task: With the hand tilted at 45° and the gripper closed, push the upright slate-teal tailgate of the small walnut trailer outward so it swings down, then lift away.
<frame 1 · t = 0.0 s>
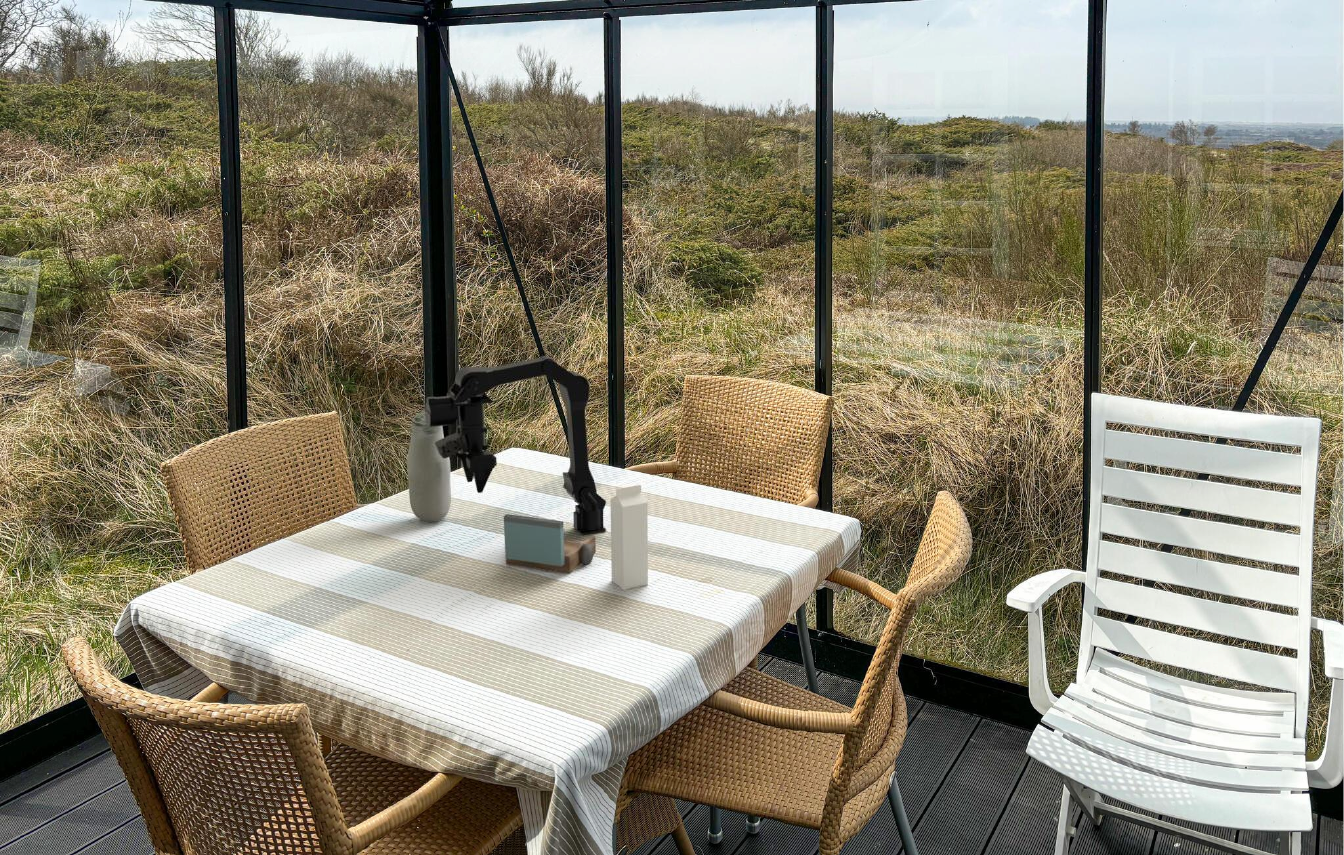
hand: (474, 487, 270), 15 cm above the table, tool pointing down, fingers open, 9 cm apart
grey bottle: (431, 521, 292), on the table
tailgate: (534, 540, 257), point 7 cm above the table, hinge at 0.0°
milk: (629, 583, 252), on the table
trailer: (551, 558, 266), on the table
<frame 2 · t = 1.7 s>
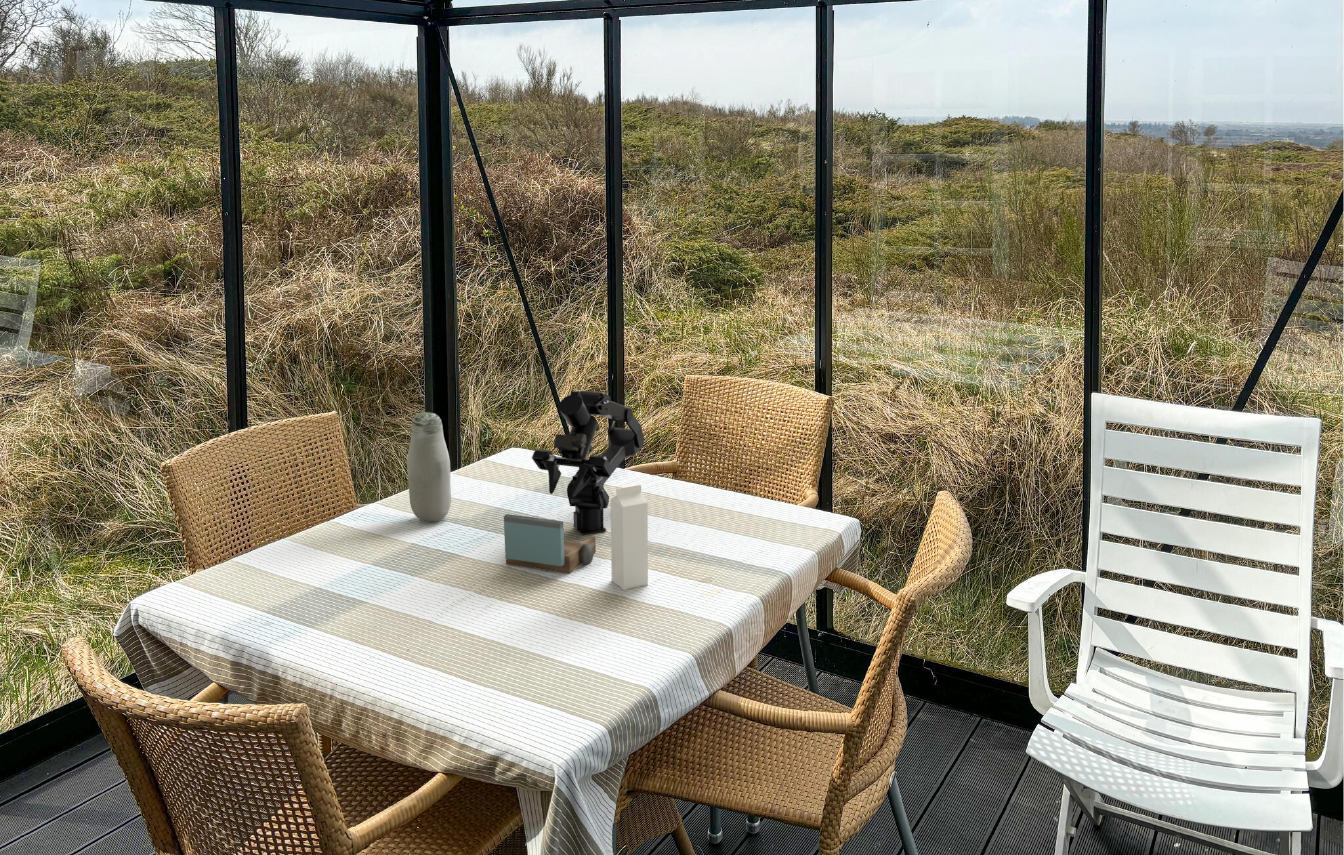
hand: (561, 494, 268), 14 cm above the table, tool tilted 45°, fingers open, 5 cm apart
nothing on the table moved.
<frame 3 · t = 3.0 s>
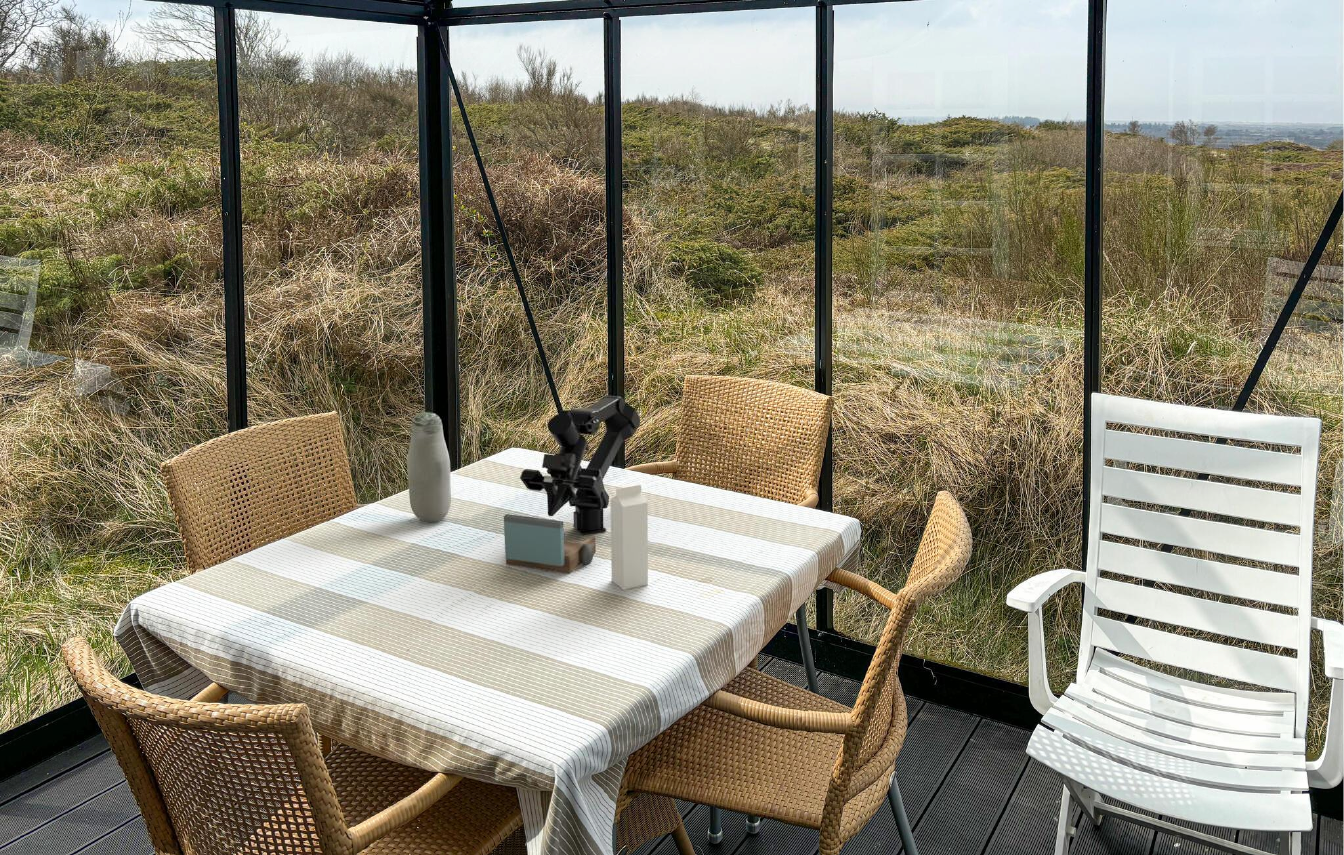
hand: (549, 515, 263), 10 cm above the table, tool tilted 45°, fingers closed
nothing on the table moved.
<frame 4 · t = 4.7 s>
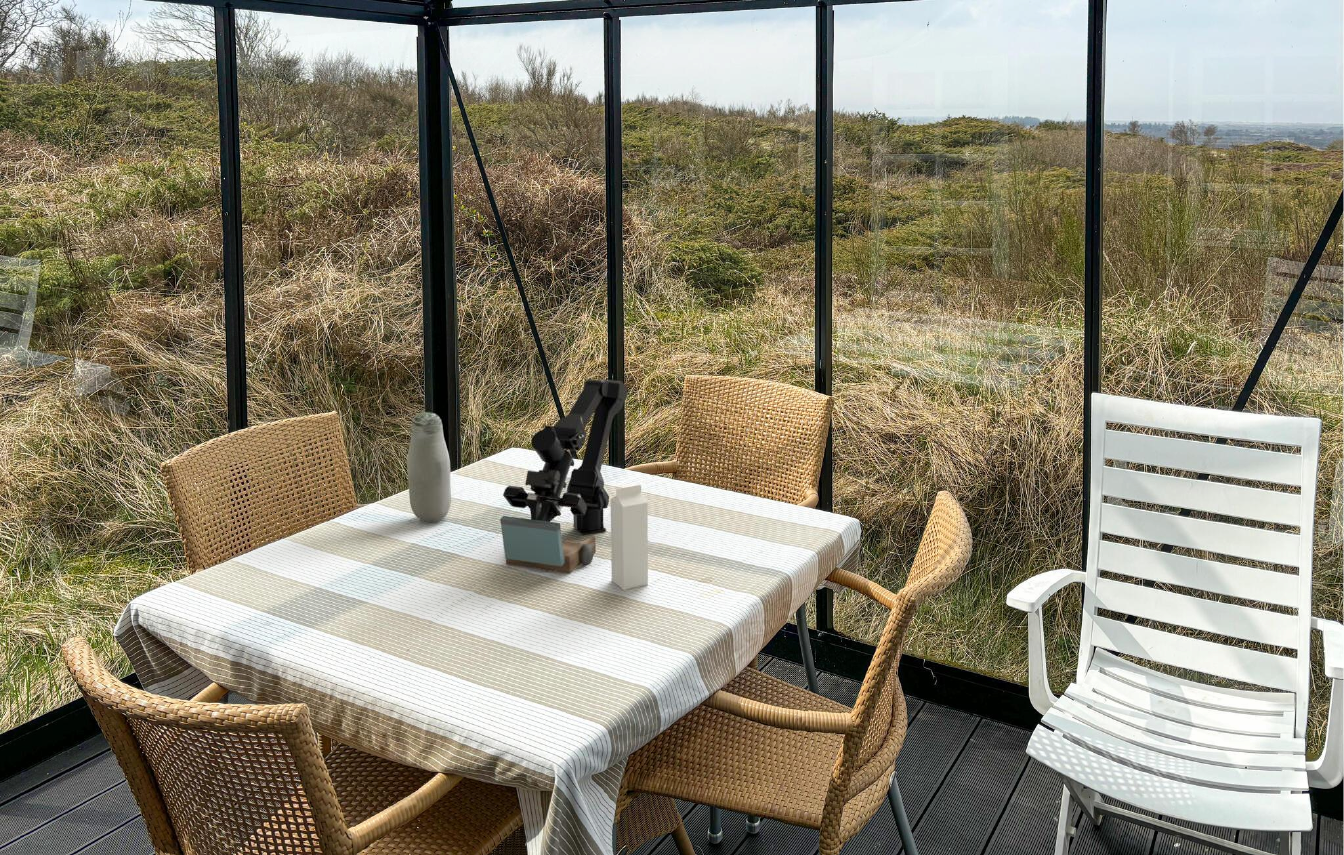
hand: (533, 534, 256), 9 cm above the table, tool tilted 45°, fingers closed, pressing on tailgate
tailgate: (532, 541, 256), point 7 cm above the table, hinge at 9.1°, touching gripper
everything else where it was.
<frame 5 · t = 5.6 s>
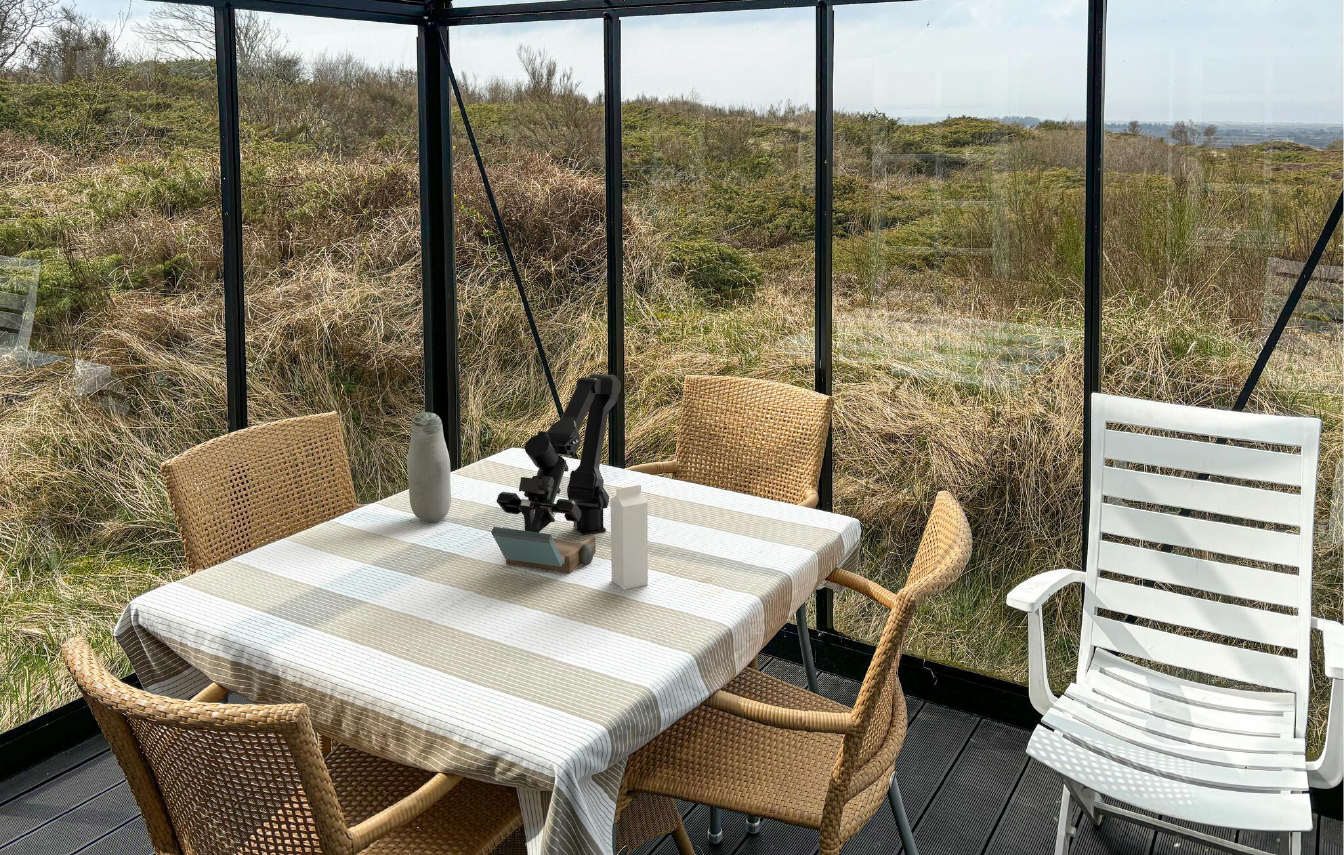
hand: (527, 540, 253), 8 cm above the table, tool tilted 45°, fingers closed, pressing on tailgate
tailgate: (527, 546, 254), point 7 cm above the table, hinge at 34.6°, touching gripper
everything else where it was.
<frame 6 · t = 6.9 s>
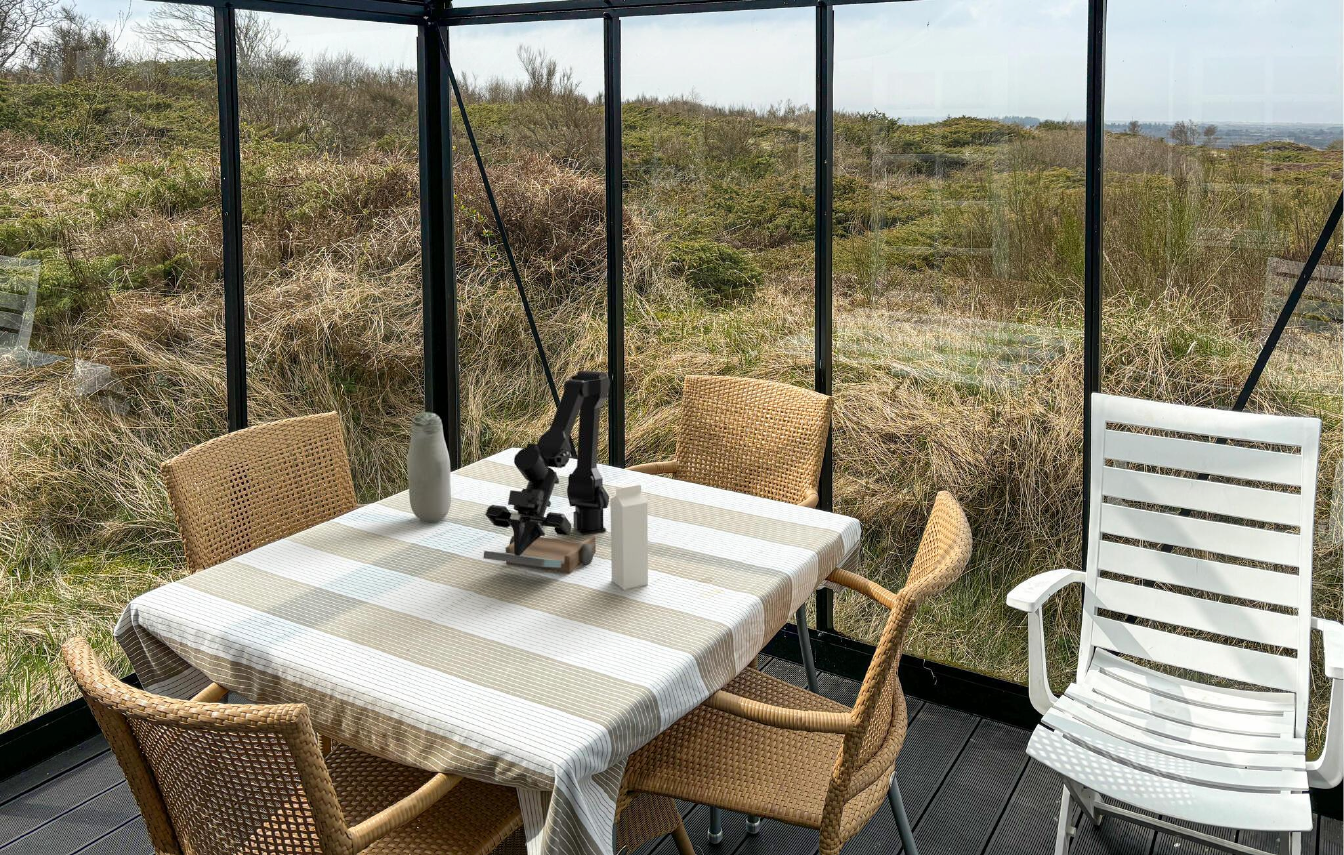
hand: (516, 555, 249), 7 cm above the table, tool tilted 45°, fingers closed, pressing on tailgate
tailgate: (522, 559, 252), point 5 cm above the table, hinge at 68.4°, touching gripper
everything else where it was.
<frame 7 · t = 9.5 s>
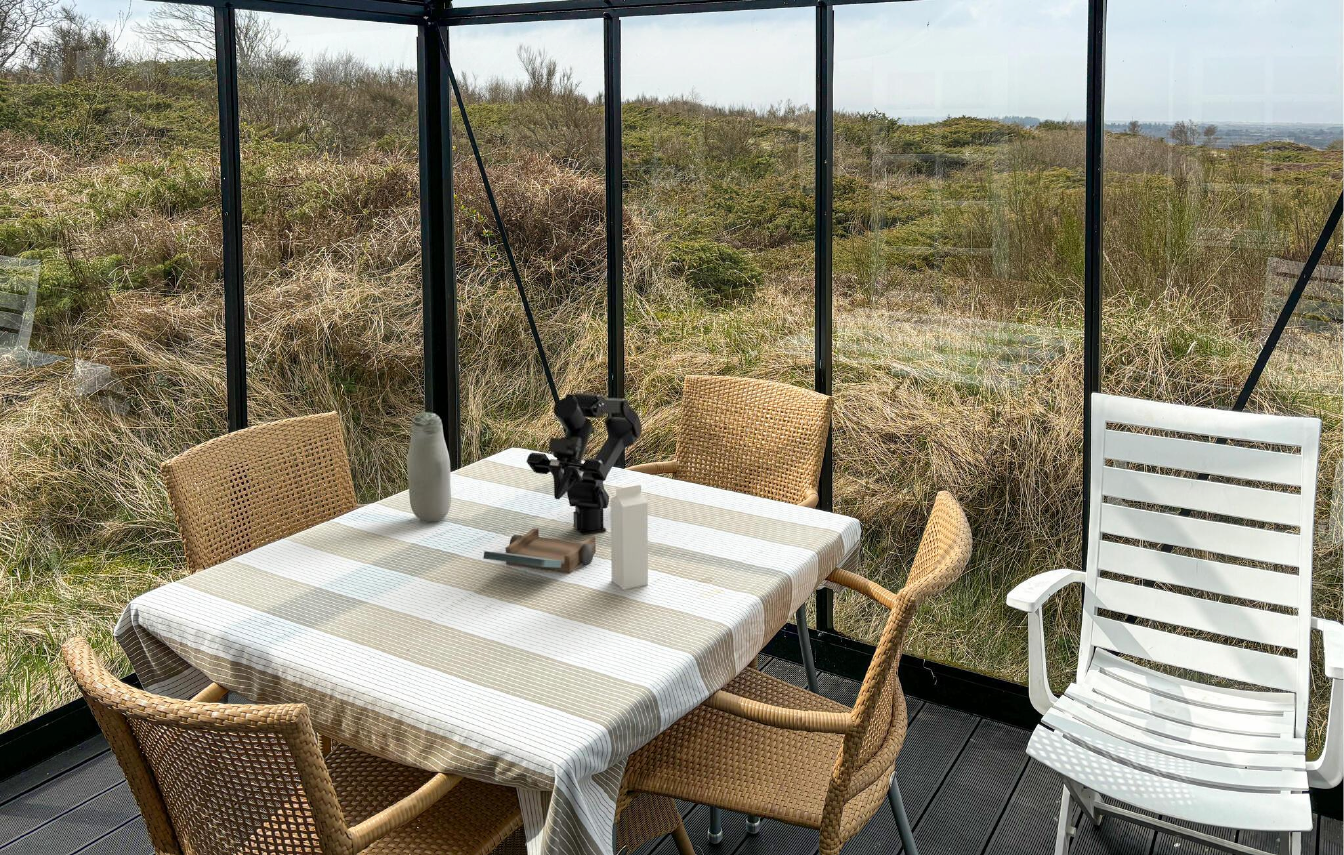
hand: (556, 498, 265), 13 cm above the table, tool tilted 45°, fingers closed
tailgate: (522, 559, 252), point 5 cm above the table, hinge at 68.6°
everything else where it was.
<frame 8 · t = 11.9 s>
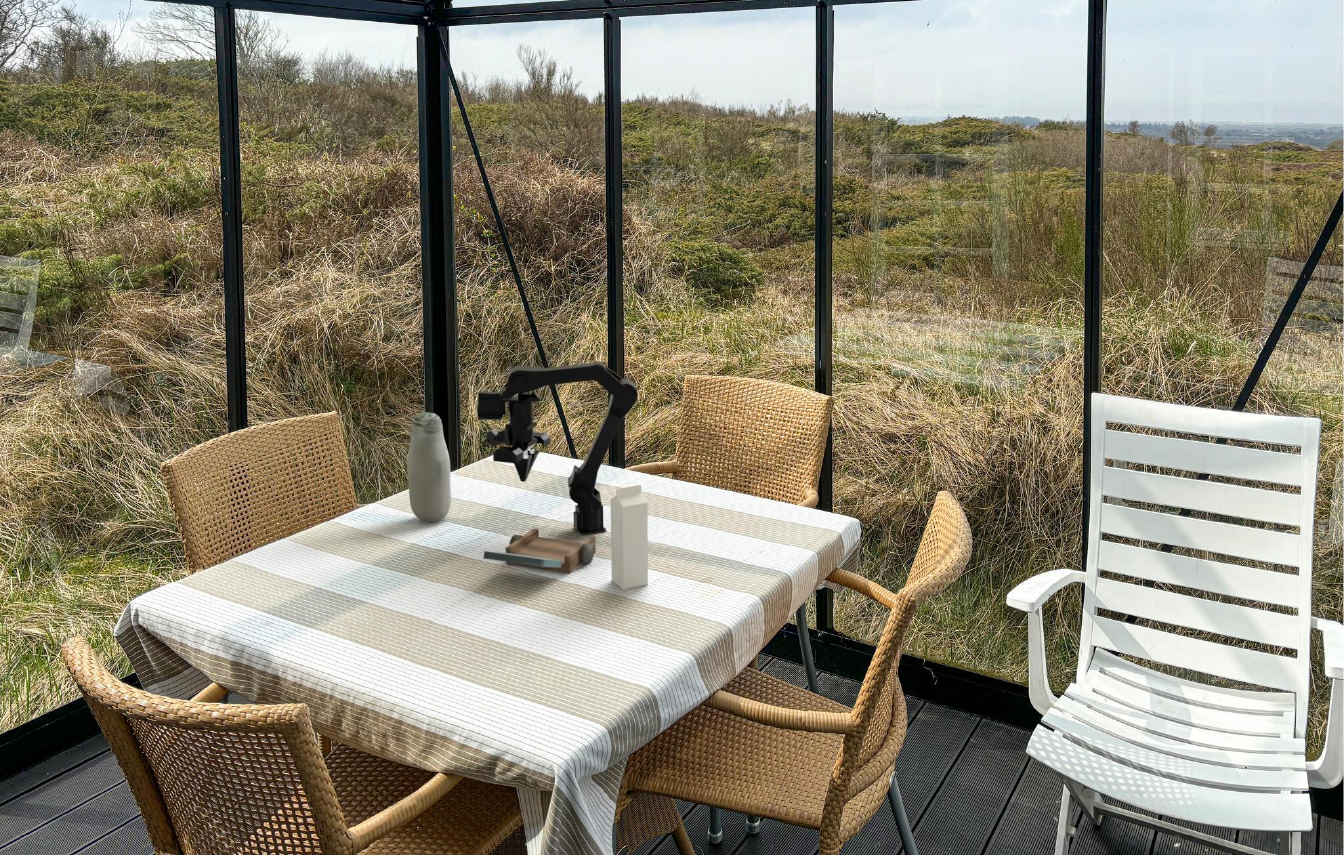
hand: (523, 481, 280), 13 cm above the table, tool pointing down, fingers closed
nothing on the table moved.
at the end: tailgate at +69° (first picture: +0°); milk moved 0.2 cm from its start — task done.
